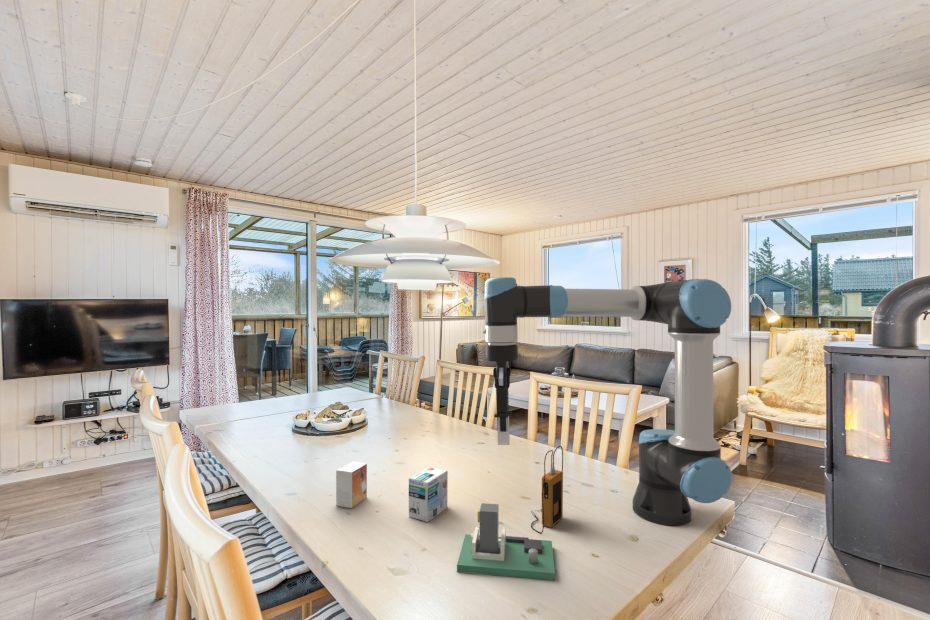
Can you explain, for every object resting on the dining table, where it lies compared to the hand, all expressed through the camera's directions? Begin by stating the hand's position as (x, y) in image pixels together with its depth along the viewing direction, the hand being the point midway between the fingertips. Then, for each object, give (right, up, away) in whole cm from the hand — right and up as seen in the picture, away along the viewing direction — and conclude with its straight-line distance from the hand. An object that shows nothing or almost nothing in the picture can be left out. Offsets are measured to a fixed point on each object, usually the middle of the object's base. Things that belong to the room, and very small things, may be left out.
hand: (503, 443), depth 102 cm
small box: (-43, -26, +27) cm, 57 cm away
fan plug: (-4, -24, -2) cm, 25 cm away
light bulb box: (-19, -26, +21) cm, 39 cm away
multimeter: (+12, -26, +17) cm, 33 cm away
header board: (0, -26, -2) cm, 26 cm away
